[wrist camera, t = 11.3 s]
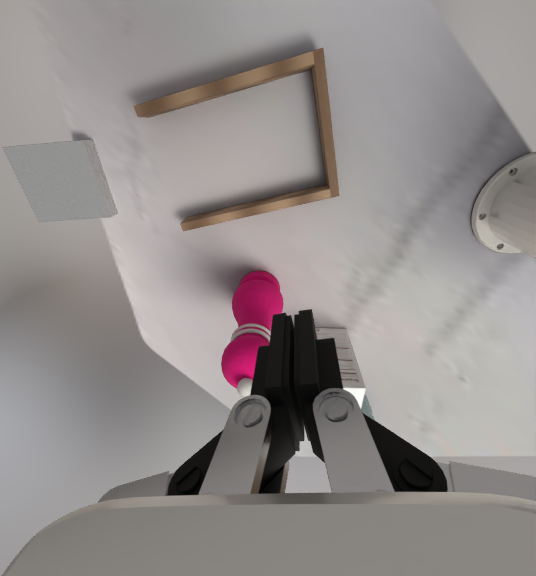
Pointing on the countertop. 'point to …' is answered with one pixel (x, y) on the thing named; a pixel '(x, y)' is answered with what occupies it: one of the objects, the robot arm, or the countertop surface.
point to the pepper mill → (250, 327)
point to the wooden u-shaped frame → (245, 81)
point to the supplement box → (345, 361)
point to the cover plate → (62, 180)
